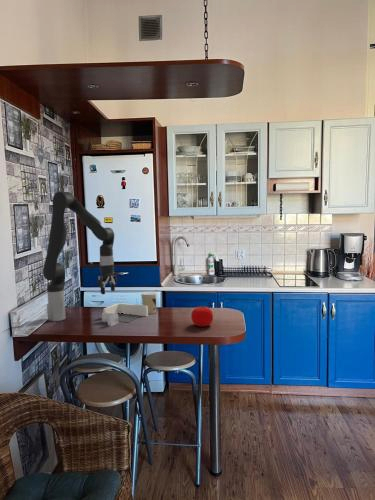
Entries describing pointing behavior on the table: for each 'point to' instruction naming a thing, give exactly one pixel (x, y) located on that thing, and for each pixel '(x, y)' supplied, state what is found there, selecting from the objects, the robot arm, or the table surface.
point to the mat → (127, 318)
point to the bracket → (110, 318)
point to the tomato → (202, 316)
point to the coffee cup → (149, 301)
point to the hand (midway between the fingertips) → (108, 292)
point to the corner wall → (127, 309)
